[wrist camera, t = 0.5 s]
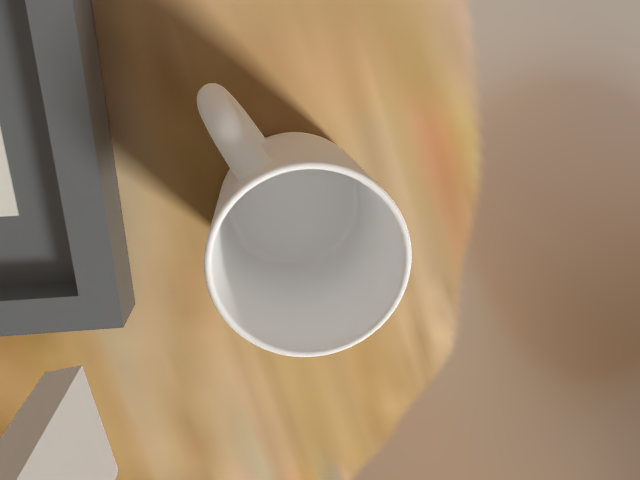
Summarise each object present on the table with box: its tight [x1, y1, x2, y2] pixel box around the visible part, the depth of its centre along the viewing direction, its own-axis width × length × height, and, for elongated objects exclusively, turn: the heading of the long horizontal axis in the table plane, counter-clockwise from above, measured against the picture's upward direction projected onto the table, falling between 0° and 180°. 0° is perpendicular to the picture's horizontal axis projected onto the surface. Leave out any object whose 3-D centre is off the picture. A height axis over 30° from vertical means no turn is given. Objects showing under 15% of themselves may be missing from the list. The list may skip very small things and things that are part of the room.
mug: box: [197, 83, 412, 357], centre depth 25 cm, size 12×8×10 cm
